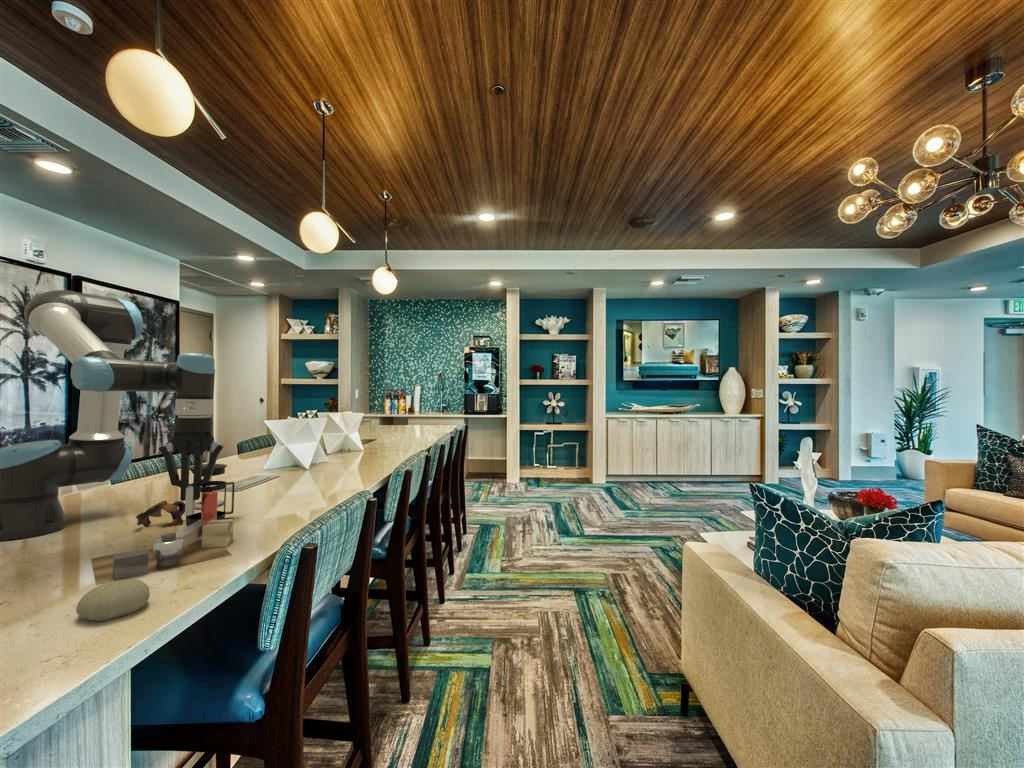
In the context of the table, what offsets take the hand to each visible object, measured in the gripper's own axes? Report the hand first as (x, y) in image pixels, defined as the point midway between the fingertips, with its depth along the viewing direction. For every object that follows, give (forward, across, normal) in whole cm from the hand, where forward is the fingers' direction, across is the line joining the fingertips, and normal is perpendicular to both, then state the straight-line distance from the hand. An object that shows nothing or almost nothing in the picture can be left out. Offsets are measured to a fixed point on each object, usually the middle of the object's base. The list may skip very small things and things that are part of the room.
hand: (189, 513), depth 106 cm
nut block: (+7, +7, -5) cm, 10 cm away
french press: (+8, +1, +17) cm, 19 cm away
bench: (+8, -3, -10) cm, 13 cm away
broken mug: (+8, -10, +22) cm, 25 cm away
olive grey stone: (+9, -4, -32) cm, 33 cm away
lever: (+5, +2, -8) cm, 9 cm away
